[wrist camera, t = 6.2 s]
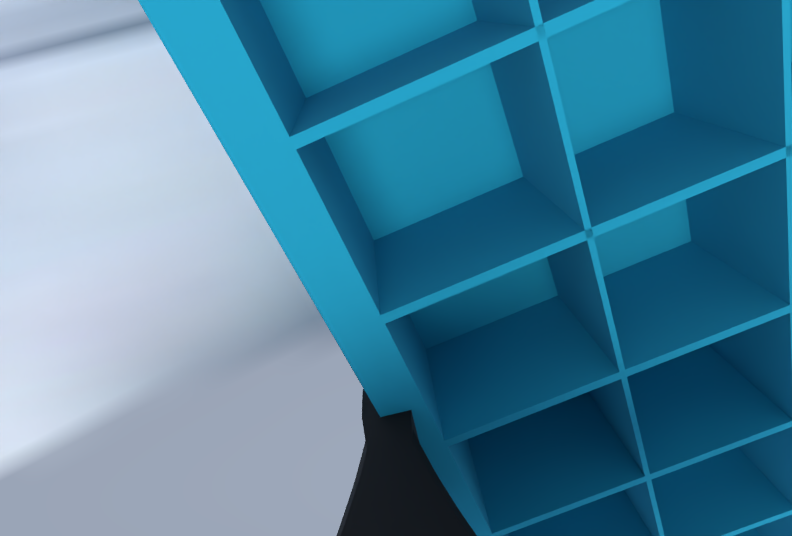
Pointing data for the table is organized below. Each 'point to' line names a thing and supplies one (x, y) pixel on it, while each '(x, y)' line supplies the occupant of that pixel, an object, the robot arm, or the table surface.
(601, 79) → the ice cube tray
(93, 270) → the table surface
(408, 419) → the robot arm
